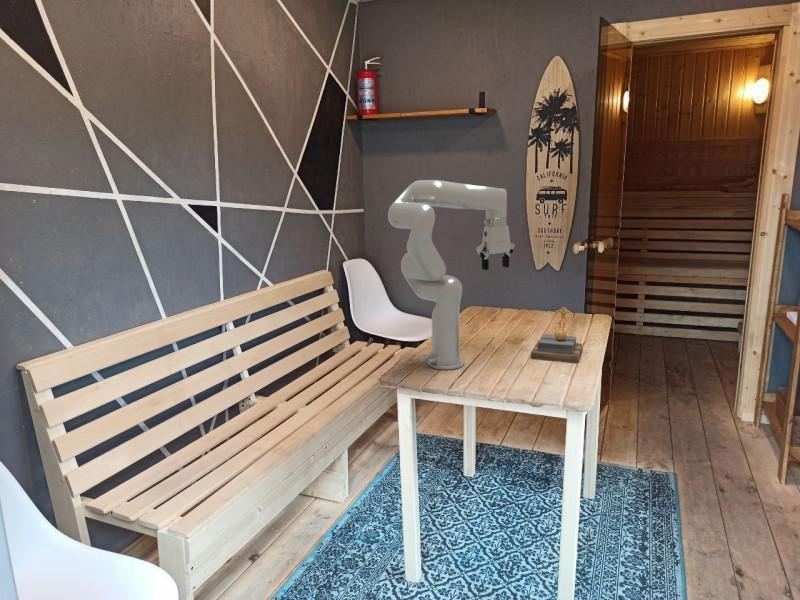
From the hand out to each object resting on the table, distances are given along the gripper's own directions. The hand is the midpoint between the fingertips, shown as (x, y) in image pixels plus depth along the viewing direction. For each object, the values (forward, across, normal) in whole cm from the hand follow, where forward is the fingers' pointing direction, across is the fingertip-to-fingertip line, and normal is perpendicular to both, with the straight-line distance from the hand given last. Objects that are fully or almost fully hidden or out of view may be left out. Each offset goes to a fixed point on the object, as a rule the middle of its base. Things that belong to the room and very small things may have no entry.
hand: (495, 268), depth 211 cm
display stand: (+30, +12, -21) cm, 39 cm away
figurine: (+25, +13, -22) cm, 36 cm away
